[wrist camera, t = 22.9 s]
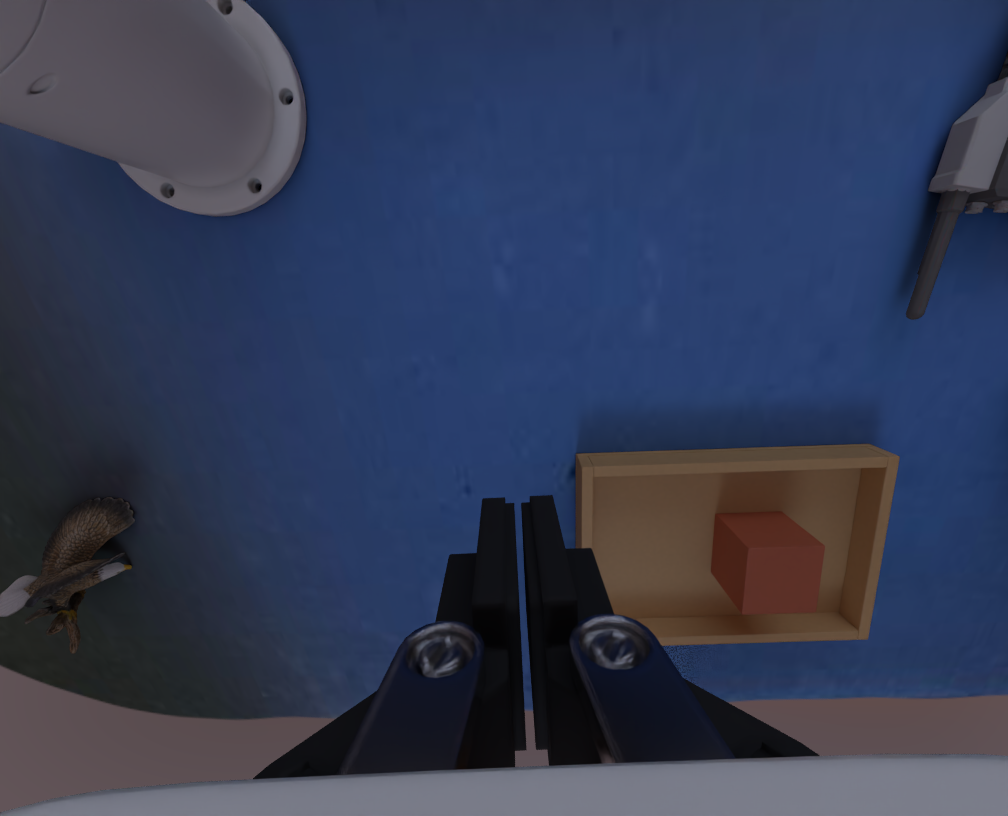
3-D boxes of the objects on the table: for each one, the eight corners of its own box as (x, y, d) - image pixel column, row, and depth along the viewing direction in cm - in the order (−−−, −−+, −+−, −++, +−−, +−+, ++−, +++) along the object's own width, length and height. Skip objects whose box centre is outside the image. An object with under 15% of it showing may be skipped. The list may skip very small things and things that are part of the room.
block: (710, 572, 37) (741, 615, 32) (714, 513, 35) (748, 548, 31) (775, 570, 37) (816, 612, 32) (781, 510, 35) (825, 545, 31)
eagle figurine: (141, 628, 37) (161, 550, 34) (12, 678, 31) (21, 590, 28) (106, 558, 40) (122, 479, 37) (-16, 591, 34) (-12, 502, 31)
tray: (575, 623, 38) (580, 648, 36) (575, 453, 35) (581, 467, 32) (842, 615, 38) (868, 639, 36) (869, 443, 35) (900, 456, 32)
